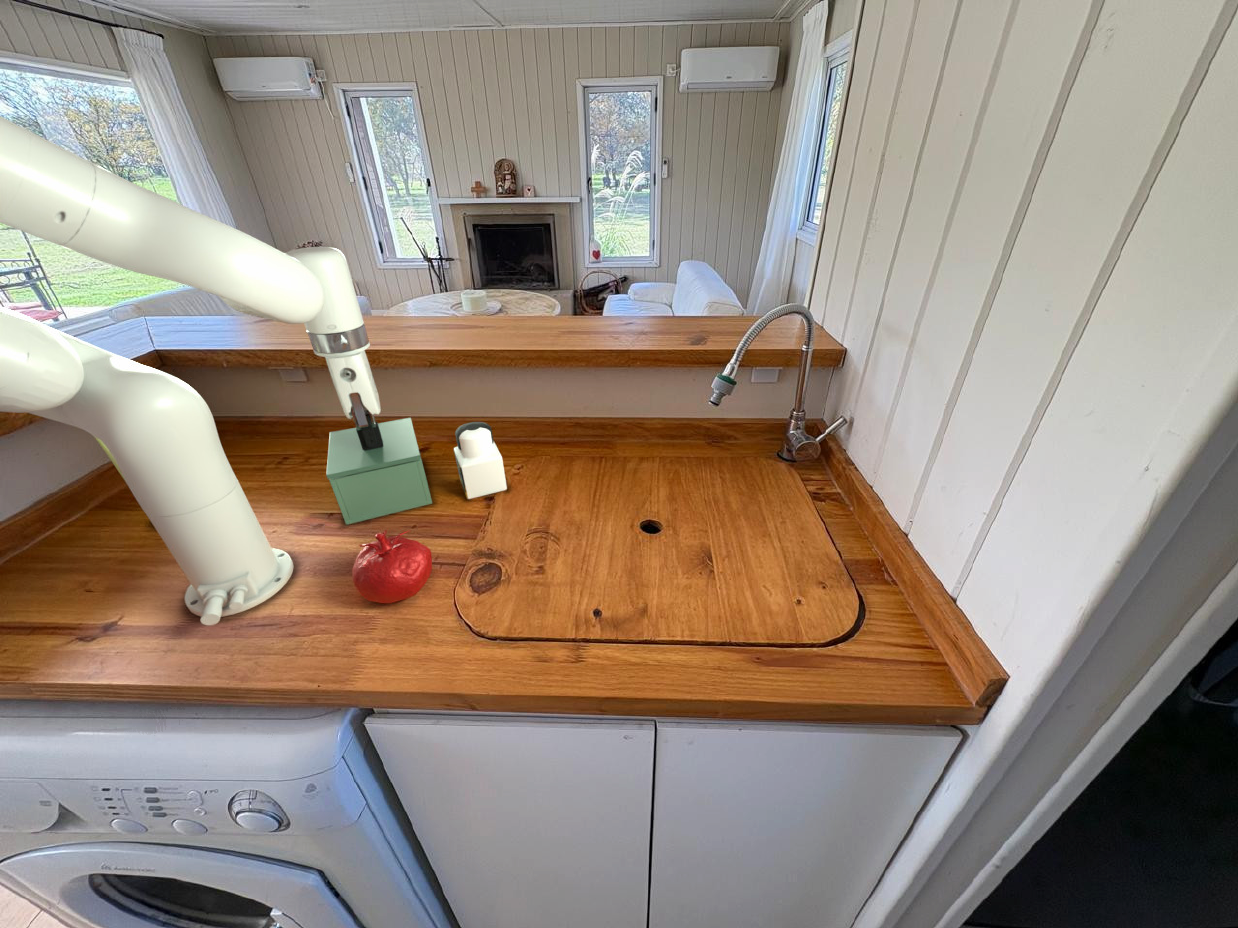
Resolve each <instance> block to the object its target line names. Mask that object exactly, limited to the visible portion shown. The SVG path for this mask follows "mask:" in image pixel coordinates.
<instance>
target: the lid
mask: <svg viewBox="0 0 1238 928" xmlns="http://www.w3.org/2000/svg"><path fill="white" fill-rule="evenodd" d="M377 423H378V422H377ZM378 426H379V429H380V433H381V436H382V439H383V447H381V448H376V449H371V450H366V451H364V450H363V449H362V446H361V443H360V440H359V437H358V434H357V431H356V427H353V428H352V427H351V428H347V429H340V430H335V431H330V432H329V439H328V450H327V464H326V478H327V479H326V480H330V479H332V478H337V477H342V476H346V475H351V474H356V473H360V472H365V471H369V470H374V469H379V468H383V467H388V466H393V465H397V464H402V463H406V462H411V461H416V460H420V459H421V460H422V456H421V452H420V448H419V445H418V440H417V437H416V433H415V429H414V425H413V421H412V418H411V417H406V418H399V419H394V420H389V421H385V422H379V423H378Z"/></svg>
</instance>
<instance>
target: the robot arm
mask: <svg viewBox="0 0 1238 928" xmlns="http://www.w3.org/2000/svg"><path fill="white" fill-rule="evenodd" d="M0 224H3V225H5V226H8V227H9V228H13V229H16V230H19V231H21V232H23V233H26V234H29V235H32V236H34V237H36V238H39V239H42V240H44V241H48V242H49V243H53V244H55V245H58V246H61V247H63V248H65V249H68V250H71V251H73V252H75V253H78V254H80V255H83V256H86V257H89V258H91V259H94V260H97V261H100V262H102V263H106V264H108V265H112V266H115V267H117V268H120V269H123V270H127V271H130V272H133V273H137V274H141V275H145V276H149V277H154V278H159V279H164V280H166V281H167V280H168V281H172V282H174V283H178V284H182V285H185V286H188V287H191V288H195V289H198V290H200V291H204V292H206V293H209V294H212V295H215V296H218V297H219V299H221V301H222V302H224V303H225V305H227V306H229V307H230V308H231V309H233V310H235V311H237V312H240V313H242V314H245V315H248V316H253V317H256V318H257V317H258V318H260V319H267V320H271V321H275V322H278V323H283V324H288V325H302V324H304V327H305V330H306V332H307V335H308V338H309V341H310V343H311V347H312V349H313V353H314V355H316V356H318V357H323V358H325V361H326V364H327V365H326V366H327V367H328V371H329V374H330V378H331V380H332V383H333V386H334V388H335V392H336V395H337V397H338V399H339V402H340V406H341V408H342V410H343V413H344V415H345V418H346V419H349V420H352V418H353V422H354V424H355V428H356V431H357V434H358V437H359V440H360V443H361V446H362V449H363V450H364V451H366V450H371V449H376V448H381V447H383V439H382V436H381V433H380V429H379V426H378V421H376V417H375V415H376V416H378V415H380V413H381V412H382V411H381V410H382V409H381V402H380V396H379V392H378V389H377V386H376V382H375V379H374V376H373V372H372V368H371V365H370V362H369V359H368V356H367V353H366V350H368V349H369V348H370V347H371V343H370V340H369V336H368V332H367V329H366V325H365V321H364V318H363V314H362V310H361V307H360V303H359V300H358V296H357V293H356V289H355V286H354V282H353V279H352V275H351V271H350V269H349V268H350V267H349V264H348V262H347V259H346V256H345V255H344V254H343V252H342V251H341V250H339V249H338V248H335V247H331V246H309V247H301V248H296V249H292V250H290V251H287V252H283V251H281V250H279V249H277V248H275V247H273V246H271V245H270V244H268V243H266V242H264V241H262V240H260V239H258V238H256V237H254V236H252V235H250V234H248V233H247V232H244V231H242V230H239V229H238V228H234V227H233V226H231V225H228V224H227V223H224V222H221V221H219V220H217V219H214V218H212V217H210V216H208V215H206V214H203V213H201V212H199V211H196V210H193V209H192V208H190V207H188V206H185V205H183V204H181V203H179V202H176V201H174V200H172V199H170V198H168V197H167V196H165V195H161V194H159V193H157V192H155V191H152V190H149V189H147V188H145V187H143V186H140V185H138V184H136V183H135V182H132V181H130V180H128V179H125V178H124V177H121V176H119V175H118V174H116V173H113V172H111V171H109V170H108V169H105V168H104V167H102V166H100V165H98V164H96V163H94V162H91V161H90V160H87V159H85V158H83V157H81V156H80V155H77V154H76V153H73V152H71V151H69V150H67V149H66V148H63V147H62V146H60V145H57V144H55V143H54V142H52V141H50V140H47V139H46V138H44V137H42V136H40V135H38V134H36V133H34V132H32V131H31V130H29V129H26V128H25V127H23V126H20V125H19V124H17V123H15V122H13V121H10V120H9V119H7V118H4V117H3V116H1V115H0ZM0 412H2V413H17V414H21V413H22V414H23V413H28V414H31V415H35V416H37V417H42V418H45V419H48V420H51V421H54V422H59V423H63V424H65V425H68V426H72V427H75V428H78V429H80V430H83V431H85V432H86V433H88V434H90V435H91V436H93V438H95V437H96V438H98V439H100V440H101V441H102V442H103V443H104V444H105V445H106V447H107V448H108V449H109V451H110V452H111V454H112V455H113V457H114V459H115V460H116V462H117V464H118V466H119V468H120V470H121V473H122V475H123V477H124V479H125V480H124V479H123V480H124V482H125V481H126V482H125V483H126V485H127V484H128V485H127V486H128V488H129V490H130V492H131V493H132V495H133V497H134V498H135V500H136V501H137V503H138V505H139V507H141V509H142V511H143V512H144V514H145V515H146V516H147V518H148V520H149V521H150V522H151V524H152V525H153V527H154V529H155V530H156V532H157V534H158V535H159V537H160V538H161V539H162V542H163V543H164V545H165V546H166V548H167V549H168V551H169V552H170V554H171V555H172V557H173V558H174V560H175V562H176V563H177V565H178V567H179V568H180V569H181V571H182V573H183V574H184V575H185V577H186V578H187V580H188V582H189V583H190V584H189V585H188V587H187V588H186V591H185V593H184V604H185V606H186V607H187V608H188V610H189V611H190V612H191V614H193V615H195V616H198V617H200V620H199V622H200V623H201V624H202V625H204V626H215V625H217V624H218V623H219V622H220V620H221V618H223V617H224V618H225V617H228V616H233V615H236V614H239V613H242V612H246V611H247V610H250V609H252V608H255V607H257V606H258V605H261V604H263V603H265V602H266V601H267V600H269V599H271V598H272V597H274V595H276V594H277V593H278V592H279V591H280V590H281V589H283V587H285V585H287V584H288V582H289V580H290V579H291V577H292V576H293V575H292V574H293V572H294V562H293V560H292V558H291V556H290V555H289V554H288V553H287V552H286V551H284V550H282V549H279V548H274V547H272V546H271V544H270V542H269V540H268V538H267V536H266V534H265V532H264V530H263V528H262V526H261V523H260V522H259V520H258V517H257V516H256V514H255V512H254V510H253V508H252V505H251V504H250V502H249V500H248V498H247V496H246V494H245V491H244V490H243V488H242V486H241V483H240V482H239V480H238V478H237V476H236V474H235V472H234V470H233V468H232V465H231V464H230V462H229V460H228V457H227V456H226V453H225V451H224V448H223V446H222V442H221V440H220V435H219V433H218V430H217V429H218V428H217V426H216V422H215V419H214V416H213V413H212V412H211V409H210V407H209V405H208V404H207V402H206V400H205V399H204V398H203V397H202V396H201V394H200V393H198V391H197V390H196V389H194V388H193V387H192V386H190V385H189V384H188V383H186V382H185V381H183V380H182V379H180V378H178V377H176V376H175V375H172V374H169V373H167V372H164V371H162V370H159V369H156V368H153V367H151V366H147V365H144V364H141V363H139V362H136V361H134V360H131V359H128V358H126V357H124V356H121V355H118V354H117V353H113V352H111V351H108V350H106V349H103V348H101V347H98V346H96V345H93V344H91V343H89V342H87V341H84V340H82V339H79V338H77V337H74V336H72V335H70V334H67V333H65V332H62V331H60V330H58V329H55V328H53V327H50V326H48V325H46V324H43V323H42V322H40V321H38V320H36V319H33V318H31V317H30V316H27V315H25V314H22V313H20V312H17V311H14V310H11V309H8V308H5V307H3V306H0ZM123 477H122V478H123Z"/></svg>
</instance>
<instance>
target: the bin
mask: <svg viewBox="0 0 1238 928" xmlns="http://www.w3.org/2000/svg"><path fill="white" fill-rule="evenodd" d="M328 480H329V484H330V486H331V488H332V491H333V494H334V497H335V500H336V502H337V504H338V507H339V509H340V510H339V511H340V513H341V515H342V518H343V520H344V523H345V525H346V526H348V525H351V524H356V523H359V522H364V521H367V520H372V519H376V518H379V517H383V516H388V515H392V514H397V513H399V512H404V511H408V510H412V509H416V508H420V507H424V506H428V505H432V504H433V500H432V497H431V496H432V495H431V492H430V491H431V490H430V488H429V484H428V479H427V476H426V472H425V468H424V464H423V460H422V458H421V459H420V460H416V461H411V462H406V463H402V464H397V465H393V466H388V467H383V468H379V469H374V470H369V471H365V472H360V473H356V474H351V475H346V476H342V477H337V478H332V479H328Z"/></svg>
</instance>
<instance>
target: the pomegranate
mask: <svg viewBox="0 0 1238 928" xmlns="http://www.w3.org/2000/svg"><path fill="white" fill-rule="evenodd" d="M408 532H411V529H410V530H406V531H403V532H401V533H399V534H398V535H390V536H387V535H386V534H387V533H388V531H387V530H386V529H385V530H384V531H382V533H381V532H378V533H375V534H374V537H375V539H376V540H374V541H372V542H367V543H363V544H358V546H359V547H360V548H362V549H361V550H360V552H359V553H358V555H357V556H356V558H355V561H354V564H353V566H352V571H351V572H352V582H353V585H354V587H355V588H356V590H357V592H358V593H359V594H360V595H361V597H362V598H363V599H365V600H366V601H369V602H373V603H374V602H375V603H378V604H392V603H397V602H400V601H403V600H407V599H410V598H412V597H413V596H415V595H417V594H418V593H419V592H420V591H421V590H422V589H423V587H424V586H425V585H426V584H427V582H428V580H429V578H430V577H431V574H432V570H433V557H432V551H431V548H430V547H428V546H426V545H425V544H422V543H421V542H419V541H418V540H415V539H410V538H407V537H404V536H402V535H405V534H406V533H408Z"/></svg>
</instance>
